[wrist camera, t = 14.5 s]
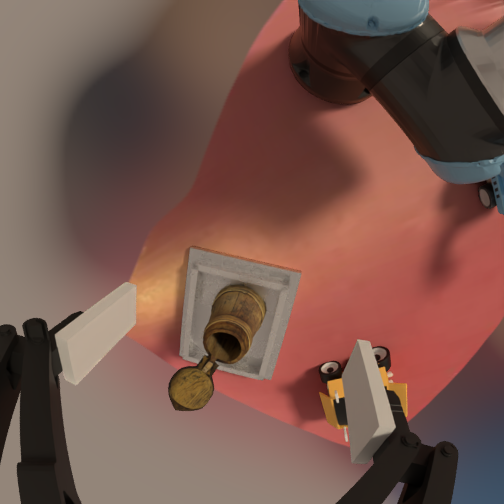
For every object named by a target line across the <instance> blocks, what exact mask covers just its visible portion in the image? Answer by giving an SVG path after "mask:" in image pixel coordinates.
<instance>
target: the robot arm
mask: <svg viewBox="0 0 504 504" xmlns="http://www.w3.org/2000/svg"><path fill="white" fill-rule="evenodd" d="M298 4H299V17H300V27H299V28H298V29H297V30H296V31H295V33H294V35H293V36H292V39H291V41H290V45H289V61H290V66H291V69H292V72H293V74H294V76H295V78H296V79H297V80H298V82H299V83H300V84H301V85H302V86H303V87H304V88H305V89H306V90H307V91H308V92H310V93H311V94H313V95H314V96H316V97H318V98H320V99H322V100H325V101H328V102H331V103H336V104H354V103H358V102H361V101H364V100H366V99H368V98H370V97H371V96H374V97H375V99H376V100H377V101H378V102H379V103H380V104H381V105H382V106H383V108H384V109H385V110H386V111H387V112H388V113H389V115H390V116H391V117H392V118H393V119H394V121H395V122H396V123H397V124H398V125H399V127H400V128H401V129H402V130H403V132H404V133H405V134H406V136H407V137H408V138H409V139H410V141H411V142H412V143H413V145H414V148H415V151H416V152H417V153H418V155H420V156H421V157H422V158H423V159H424V160H425V161H426V162H427V164H428V165H429V166H430V168H431V169H432V170H433V172H434V173H435V174H436V175H437V176H439V177H440V178H441V179H443V180H444V181H447V182H450V183H454V184H471V183H477V182H481V181H485V180H487V179H490V178H492V177H495V176H497V175H498V174H500V172H501V169H504V16H503V17H501V18H500V19H498V20H497V21H495V22H494V23H493V24H491V25H490V26H488V27H487V28H486V29H484V30H480V31H479V30H475V29H472V28H468V27H464V26H459V27H457V28H456V29H455V30H453V31H452V32H451V33H450V34H448V33H447V32H446V31H445V30H444V29H443V28H442V27H441V26H440V25H439V24H438V23H437V22H436V21H435V20H434V18H433V17H432V16H431V15H430V14H429V13H428V11H429V0H298ZM136 287H137V285H134V284H131V283H128V282H125V283H124V284H122V285H121V286H120V287H118V288H117V289H115V290H114V291H113V292H111V293H110V294H109V295H107V296H106V297H104V298H103V299H102V300H100V301H99V302H97V303H96V304H95V305H93V306H92V307H91V308H89V309H88V310H87V311H85V312H81V311H79V312H76V313H74V314H71V315H70V316H69V317H67V318H66V319H65V320H63V321H62V322H61V323H59V324H58V325H56V326H55V327H54V328H52V329H51V330H50V331H48V328H47V323H46V322H45V321H44V320H43V319H40V318H32V319H29V320H27V321H25V322H24V323H23V325H22V326H23V331H24V335H25V337H23V336H20V335H17V332H16V328H15V327H14V326H12V325H7V324H6V325H1V326H0V462H1V458H2V453H3V449H4V445H5V441H6V437H7V433H8V429H9V426H10V422H11V419H12V415H13V412H14V409H15V406H16V403H17V400H18V397H19V393H20V391H21V394H20V395H21V396H20V445H21V462H20V463H18V464H17V477H18V486H19V493H20V499H21V504H81V501H80V499H79V497H78V494H77V492H76V488H75V484H74V480H73V475H72V471H71V467H70V461H69V456H68V451H67V445H66V439H65V432H64V425H63V417H62V407H61V397H60V383H59V376H58V374H59V373H61V372H62V371H63V375H64V378H65V380H67V381H69V382H70V383H72V384H74V385H77V384H78V383H79V382H80V381H81V380H82V379H83V378H84V377H85V376H86V375H87V374H88V373H89V372H90V370H91V369H92V368H93V367H94V366H95V365H96V364H97V363H98V362H99V361H100V360H101V359H102V358H103V357H104V356H105V355H106V354H107V353H108V352H109V351H110V350H111V349H112V348H113V347H114V346H115V345H116V344H117V343H118V342H119V341H120V339H122V338H123V337H124V336H125V335H126V333H127V332H128V331H129V330H130V329H131V328H132V327H133V326H134V325H135V324H136ZM342 382H343V389H344V397H345V405H346V413H347V421H348V430H349V440H350V449H351V461H352V463H357V464H367V463H368V462H369V460H371V458H372V457H373V461H374V464H373V466H371V467H370V469H369V470H368V471H367V472H366V473H365V474H364V475H363V477H361V479H360V480H359V481H358V482H357V483H356V484H355V485H354V486H353V487H352V488H351V489H350V490H349V491H348V492H347V493H346V494H345V495H344V496H343V497H342V498H341V499H340V500H339V501H338V502H337V503H336V504H382V503H383V502H384V500H385V499H386V498H387V496H388V495H389V494H390V493H391V491H392V490H393V488H394V487H395V486H396V484H397V483H398V482H403V483H405V484H404V487H403V490H402V492H401V495H400V498H399V500H398V503H397V504H451V500H452V495H453V489H454V483H455V477H456V470H457V462H458V450H457V448H456V447H455V446H454V445H453V444H452V443H450V442H446V441H443V442H440V443H438V444H437V445H436V447H431V446H427V445H424V444H421V440H420V439H419V437H418V436H417V435H416V434H414V433H412V432H410V430H409V427H408V423H407V420H406V417H405V414H404V412H403V408H402V406H401V401H400V398H399V397H398V396H397V394H396V393H395V392H394V391H392V390H385V387H384V384H383V381H382V378H381V374H380V371H379V368H378V365H377V362H376V359H375V356H374V353H373V350H372V347H371V344H370V341H365V340H359V339H357V342H356V344H355V347H354V349H353V351H352V354H351V356H350V358H349V361H348V363H347V365H346V367H345V370H344V372H343V374H342Z"/></svg>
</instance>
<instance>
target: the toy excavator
mask: <svg viewBox="0 0 504 504" xmlns="http://www.w3.org/2000/svg"><path fill="white" fill-rule="evenodd" d="M486 181H487V184H484V185H482V186H480V187H479V190H478V192H480V196H479V198H480V201H481V203H482V205H483V206H484V207H485V208H489V209H491V208H493V207H495V206H497V209H498V212H499V213H500V214H503V215H504V169H501V172H500V174H498V175H497V176H495V177H492V178H490V179H487V180H486Z"/></svg>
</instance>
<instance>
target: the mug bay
mask: <svg viewBox="0 0 504 504" xmlns="http://www.w3.org/2000/svg"><path fill="white" fill-rule="evenodd" d="M300 277H301V271H300V270H295V269H291V268H287V267H282V266H278V265H273V264H269V263H265V262H260V261H256V260H252V259H247V258H243V257H239V256H234V255H230V254H226V253H222V252H217V251H213V250H209V249H204V248H200V247H196V246H192V247H190V253H189V261H188V269H187V278H186V287H185V296H184V306H183V317H182V328H181V340H180V354H179V356H182V357H183V359H184V360H188V361H191V362H194V363H199V362H200V361H201V359H202V357H203V356H204V355H206V356H208V354H207V352H206V351H205V349H204V345H203V334H204V329H205V327H206V325H207V323H208V322H209V319H210V316H211V309H212V304H213V302H214V299H215V297H216V296H217V294H218V293H219V291H221V290H222V289H223V288H224V287H227V286H230V285H242V286H246V287H248V288H251V289H252V290H254V291H255V292H256V293H258V294H259V296H260V297H261V298H262V300H263V301H264V303H265V307H266V314H265V317H264V320H263V322H262V325H261V327H260V329H259V330H258V331H257V332H256V334H255V336H254V337H253V342H252V345H251V347H250V349H249V351H248V352H247V354H246V355H245V356H244V357H243V358H241V359H240V360H239V361H238V362H236V363H234V364H224V363H220V362H217V361H215V362H216V363H217V364H218V365H219V367H218V368H217V369H219V370H222V371H226V372H230V373H234V374H238V375H242V376H246V377H250V378H254V379H258V380H263V379H269V380H271V378H272V375H273V371H274V368H275V365H276V362H277V358H278V355H279V352H280V348H281V345H282V342H283V338H284V335H285V331H286V328H287V324H288V321H289V317H290V314H291V310H292V307H293V303H294V299H295V296H296V292H297V288H298V285H299V281H300Z"/></svg>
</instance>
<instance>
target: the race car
mask: <svg viewBox="0 0 504 504" xmlns="http://www.w3.org/2000/svg"><path fill="white" fill-rule="evenodd" d="M372 350H373V353H374V356H375V359H376V362H377V365H378V368H379V371H380V374H381V378H382V381H383V384H384V387H385V390H392V391H394V392H395V393H396V394H397V396H398V397H399V398H400V401H401V406H402V408H403V412H404V414H405V417H407V384H406V383H393V381H392V380H388V377H391V376H393V374H392V372H391V371H389V372H387V371H388V370H389V369H390V367H391V360H390V352H389V350H388V349H387V348H385V347H381V346H377V347H373V348H372ZM319 373H320V377H321V380H322V382H323V383H326V384H327V391H328V394H329V396H327V395H325V394H323V393H321V392H319V394H320V398H321V401H322V405H323V408H324V412H325V415H326V419H327V422H328V423H329V424H331V425H332V426H334V427H336V428H337V429H341V428H344V435H345V440H346V442H347V441H348V437H347V433H346V427H348V421H347V413H346V405H345V397H344V389H343V382H342V374H343V372H342V368H341V364H340V363H339V362H337V361H330V362H326V363H324V364H322V365H321V366H320V368H319Z"/></svg>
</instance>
